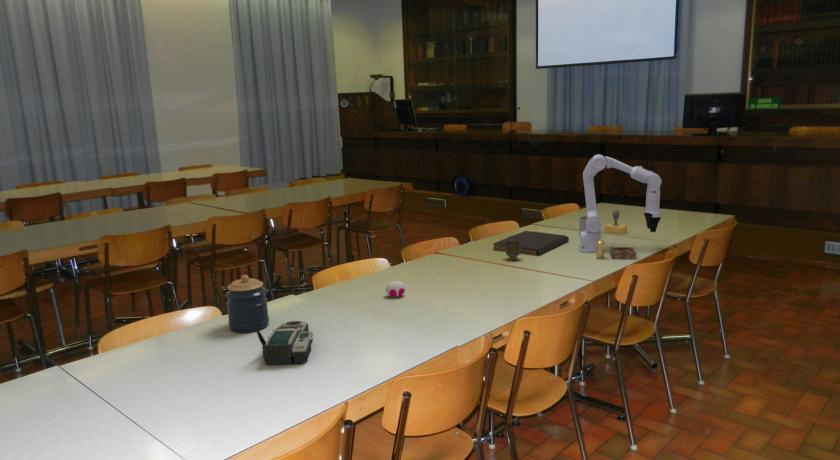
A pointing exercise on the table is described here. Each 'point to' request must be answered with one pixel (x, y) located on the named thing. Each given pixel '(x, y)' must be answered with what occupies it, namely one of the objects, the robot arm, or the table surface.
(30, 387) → the table surface
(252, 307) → the canister
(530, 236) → the file folder
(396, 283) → the stress ball
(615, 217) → the rubber stamp
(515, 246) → the cup
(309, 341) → the communication device
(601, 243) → the peg
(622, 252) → the box
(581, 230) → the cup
